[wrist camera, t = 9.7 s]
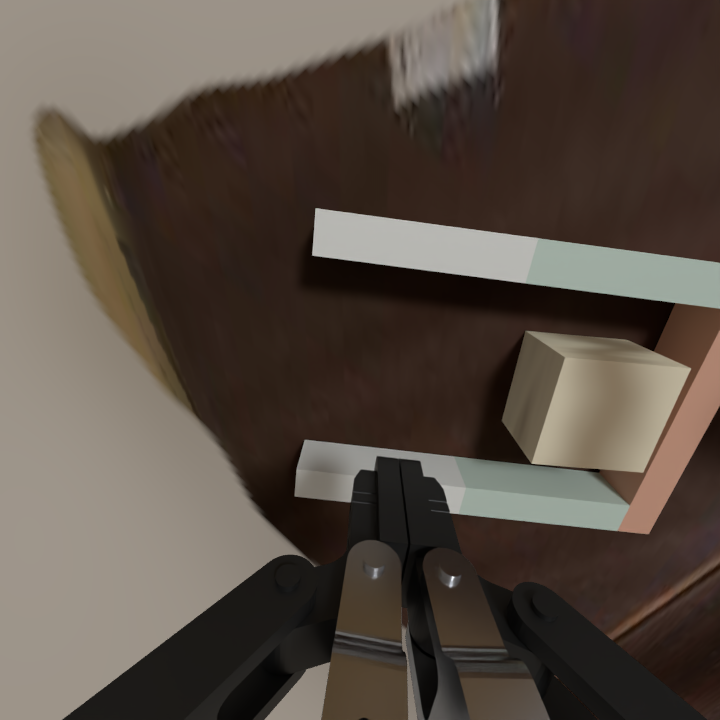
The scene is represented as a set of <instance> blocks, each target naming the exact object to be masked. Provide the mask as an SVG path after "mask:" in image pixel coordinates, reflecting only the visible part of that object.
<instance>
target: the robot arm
mask: <svg viewBox="0 0 720 720" xmlns="http://www.w3.org/2000/svg"><path fill="white" fill-rule="evenodd" d="M402 607H404V608H407V611H408V625H407V629H406V636H405V637H406V646H407V652H408V659H409V666H410V672H411V678H412V685H413V692H414V698H415V705H416V712H417V718H418V720H597V719H596V718H595V717H594V716H593V715H592V713H593V714H594V715H595V716H596V717H597V718H598V719H599V720H707V719H706V718H704V717H703V716H702V715H701V714H700V713H699V712H697V711H696V710H695V709H694V708H693V707H691V706H690V705H689V704H688V703H687V702H685V701H684V700H683V699H682V698H681V697H679V696H678V695H677V694H676V693H675V692H673V691H672V690H671V689H670V688H669V687H667V686H666V685H665V684H664V683H663V682H661V681H660V680H659V679H658V678H657V677H655V676H654V675H653V674H652V673H651V672H649V671H648V670H647V669H646V668H645V667H643V666H642V665H641V664H640V663H639V662H637V661H636V660H635V659H634V658H633V657H631V656H630V655H629V654H628V653H627V652H625V651H624V650H623V649H622V648H621V647H619V646H618V645H617V644H616V643H615V642H613V641H612V640H611V639H610V638H609V637H607V636H606V635H605V634H604V633H603V632H601V631H600V630H599V629H598V628H597V627H596V626H594V625H593V624H592V623H591V622H590V621H588V620H587V619H586V618H585V617H584V616H582V615H581V614H580V613H579V612H578V611H576V610H575V609H574V608H573V607H572V606H570V605H569V604H568V603H567V602H566V601H564V600H563V599H562V598H561V597H560V596H558V595H557V594H556V593H555V592H553V591H552V590H550V589H549V588H547V587H545V586H543V585H540V584H537V583H533V582H523V583H520V584H518V585H517V586H516V587H515V588H514V591H513V592H512V591H510V590H508V589H505V588H503V587H500V586H498V585H495V584H493V583H491V582H488V581H486V580H485V579H483V578H481V577H480V576H479V575H477V573H476V571H475V569H474V567H473V565H472V564H471V563H470V562H469V560H468V559H466V558H465V557H464V556H463V555H462V553H461V550H460V546H459V543H458V539H457V535H456V532H455V528H454V525H453V521H452V517H451V514H450V510H449V507H448V504H447V499H446V496H445V492H444V489H443V488H442V486H441V485H440V484H439V483H438V481H437V480H436V479H435V478H434V477H425V476H424V475H423V470H422V466H421V462H420V461H418V460H409V459H400V458H399V459H398V458H391V457H382V456H377V457H376V462H375V468H374V471H372V470H363V469H361V470H360V471H359V472H358V474H357V475H356V477H355V478H354V483H353V490H352V497H351V505H350V512H349V525H348V539H347V551H346V552H345V554H344V555H343V556H342V557H341V558H339V559H338V560H336V561H335V562H332V563H330V564H326V565H322V566H317V567H314V566H313V565H312V564H311V563H310V562H309V561H308V560H307V559H305V558H303V557H301V556H298V555H283V556H280V557H277V558H275V559H273V560H272V561H270V562H269V563H267V564H266V565H265V566H263V567H262V568H261V569H260V570H258V571H257V572H256V573H254V574H253V575H252V576H250V577H249V578H248V579H246V580H245V581H244V582H242V583H241V584H240V585H239V586H237V587H236V588H234V589H233V590H232V591H231V592H229V593H228V594H227V595H225V596H224V597H223V598H222V599H220V600H219V601H217V602H216V603H215V604H214V605H212V606H211V607H210V608H208V609H207V610H206V611H204V612H203V613H202V614H200V615H199V616H198V617H196V618H195V619H194V620H193V621H191V622H190V623H189V624H187V625H186V626H185V627H183V628H182V629H181V630H179V631H178V632H177V633H175V634H174V635H173V636H172V637H170V638H169V639H168V640H166V641H165V642H164V643H162V644H161V645H160V646H158V647H157V648H156V649H154V650H153V651H152V652H151V653H149V654H148V655H147V656H145V657H144V658H143V659H141V660H140V661H139V662H137V663H136V664H135V665H133V666H132V667H131V668H130V669H128V670H127V671H126V672H124V673H123V674H122V675H120V676H119V677H118V678H117V679H115V680H114V681H112V682H111V683H110V684H109V685H107V686H106V687H105V688H103V689H102V690H101V691H99V692H98V693H97V694H95V695H94V696H93V697H92V698H90V699H89V700H88V701H86V702H85V703H84V704H82V705H81V706H80V707H79V708H77V709H76V710H74V711H73V712H72V713H71V714H70V715H68V716H67V717H65V718H64V719H63V720H264V719H265V718H266V717H267V716H268V715H269V714H270V712H271V711H272V710H273V709H274V708H275V707H276V706H277V704H278V703H279V702H280V701H281V700H282V699H283V698H284V696H285V695H286V694H287V693H288V692H289V690H290V689H291V688H292V687H293V686H294V685H295V684H296V683H297V681H298V680H299V679H300V678H301V677H302V675H303V674H304V672H305V671H306V669H308V668H312V667H315V666H318V665H321V664H325V663H328V662H330V668H329V674H328V680H327V686H326V693H325V699H324V706H323V712H322V718H321V720H408V687H407V660H406V654H405V652H403V650H402ZM554 675H556V676H557V677H558V678H559V679H560V680H561V681H562V682H563V683H564V684H565V685H566V686H567V687H568V688H569V689H570V690H571V691H572V692H573V693H574V694H575V695H576V696H577V697H578V698H579V699H580V701H581V702H582V703H583V704H584V705H585V706H586V707H587V708H588V709H589V710H590V711H591V712H592V713H591V712H590V711H589V710H588V709H587V708H586V707H585V706H584V705H583V704H582V703H581V702H580V701H579V700H578V699H577V698H576V697H575V696H574V695H573V694H572V693H571V692H570V691H569V690H568V689H567V688H566V687H565V686H564V685H563V684H562V683H561V682H560V681H559V680H558V679H557V678H556V677H555V676H554Z"/></svg>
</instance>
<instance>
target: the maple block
mask: <svg viewBox="0 0 720 720" xmlns="http://www.w3.org/2000/svg"><path fill="white" fill-rule="evenodd" d="M690 370H691V368H689V367H687V366H685V365H683V364H680V363H678V362H676V361H673V360H671V359H669V358H667V357H664V356H662V355H660V354H658V353H655V352H653V351H651V350H649V349H646V348H644V347H642V346H640V345H637V344H635V343H633V342H631V341H628V340H623V339H611V338H600V337H589V336H577V335H566V334H555V333H543V332H532V331H525V335H524V339H523V342H522V346H521V350H520V354H519V357H518V361H517V365H516V369H515V372H514V376H513V380H512V384H511V388H510V391H509V395H508V399H507V403H506V406H505V410H504V414H503V418H502V422H503V423H504V425H505V426H506V428H507V429H508V431H509V432H510V433H511V435H512V436H513V438H514V439H515V441H516V442H517V443H518V445H519V446H520V448H521V449H522V451H523V452H524V454H525V455H526V456H527V458H528V459H529V461H530V462H531V464H542V465H555V466H567V467H579V468H592V469H604V470H616V471H629V472H641V473H643V472H644V470H645V468H646V466H647V463H648V461H649V459H650V457H651V455H652V453H653V450H654V448H655V446H656V444H657V442H658V440H659V437H660V435H661V433H662V431H663V429H664V427H665V424H666V422H667V420H668V418H669V416H670V414H671V411H672V409H673V407H674V405H675V403H676V400H677V398H678V396H679V394H680V392H681V390H682V387H683V385H684V383H685V381H686V379H687V377H688V374H689V372H690Z"/></svg>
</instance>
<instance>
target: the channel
mask: <svg viewBox="0 0 720 720" xmlns="http://www.w3.org/2000/svg"><path fill="white" fill-rule="evenodd" d="M312 256H319V257H327V258H335V259H343V260H350V261H358V262H366V263H373V264H381V265H389V266H396V267H404V268H412V269H419V270H427V271H435V272H442V273H450V274H458V275H465V276H473V277H481V278H488V279H496V280H504V281H511V282H519V283H527V284H534V285H542V286H550V287H557V288H565V289H573V290H580V291H588V292H596V293H603V294H611V295H619V296H626V297H634V298H642V299H650V300H657V301H665V302H673V303H675V305H674V308H673V310H672V312H671V314H670V316H669V319H668V321H667V323H666V325H665V328H664V330H663V332H662V334H661V336H660V339H659V341H658V343H657V345H656V348H655V350H654V352H655V353H658V354H660V355H662V356H664V357H667V358H669V359H671V360H673V361H676V362H678V363H680V364H683V365H685V366H687V367H689V368H691V370H690V372H689V374H688V377H687V379H686V381H685V383H684V385H683V387H682V390H681V392H680V394H679V396H678V398H677V400H676V403H675V405H674V407H673V409H672V411H671V414H670V416H669V418H668V420H667V422H666V424H665V427H664V429H663V431H662V433H661V435H660V437H659V440H658V442H657V444H656V446H655V448H654V450H653V453H652V455H651V457H650V459H649V461H648V463H647V466H646V468H645V470H644V472H643V473H641V472H629V471H616V470H604V469H601V470H600V472H599V473H596V472H587V471H578V470H569V469H561V468H552V467H543V466H534V465H525V464H516V463H507V462H498V461H489V460H480V459H472V458H463V457H454V456H445V455H436V454H427V453H418V452H409V451H400V450H391V449H383V448H374V447H365V446H356V445H347V444H338V443H329V442H320V441H311V440H304V444H303V448H302V451H301V455H300V458H299V462H298V466H297V470H296V483H295V497H304V498H314V499H323V500H333V501H342V502H351V497H352V490H353V483H354V478H355V477H356V475H357V474H358V472H359V471H360V470H361V469H363V470H372V471H374V468H375V462H376V457H377V456H382V457H391V458H398V459H399V458H400V459H409V460H418V461H420V462H421V466H422V470H423V475H424V476H425V477H434V478H435V479H436V480H437V481H438V483H439V484H440V485H441V486H442V488H443V489H444V492H445V496H446V499H447V504H448V507H449V510H450V513H454V514H464V515H473V516H482V517H492V518H501V519H510V520H520V521H529V522H539V523H548V524H557V525H567V526H576V527H585V528H595V529H604V530H614V531H623V532H632V533H642V534H649V532H650V531H651V529H652V527H653V525H654V523H655V522H656V520H657V518H658V516H659V514H660V513H661V511H662V509H663V507H664V505H665V504H666V502H667V500H668V498H669V496H670V495H671V493H672V491H673V489H674V487H675V486H676V484H677V482H678V480H679V478H680V476H681V475H682V473H683V471H684V469H685V467H686V466H687V464H688V462H689V460H690V458H691V457H692V455H693V453H694V451H695V449H696V448H697V446H698V444H699V442H700V440H701V439H702V437H703V435H704V433H705V431H706V430H707V428H708V426H709V424H710V422H711V421H712V419H713V417H714V415H715V413H716V412H717V410H718V408H719V406H720V263H716V262H709V261H702V260H694V259H687V258H679V257H672V256H665V255H657V254H650V253H642V252H635V251H628V250H620V249H613V248H605V247H598V246H590V245H583V244H576V243H568V242H561V241H553V240H546V239H539V238H531V237H524V236H516V235H509V234H502V233H494V232H487V231H479V230H472V229H464V228H457V227H450V226H442V225H435V224H427V223H420V222H413V221H405V220H398V219H390V218H383V217H375V216H368V215H361V214H353V213H346V212H338V211H331V210H324V209H316V211H315V225H314V238H313V252H312Z"/></svg>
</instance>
